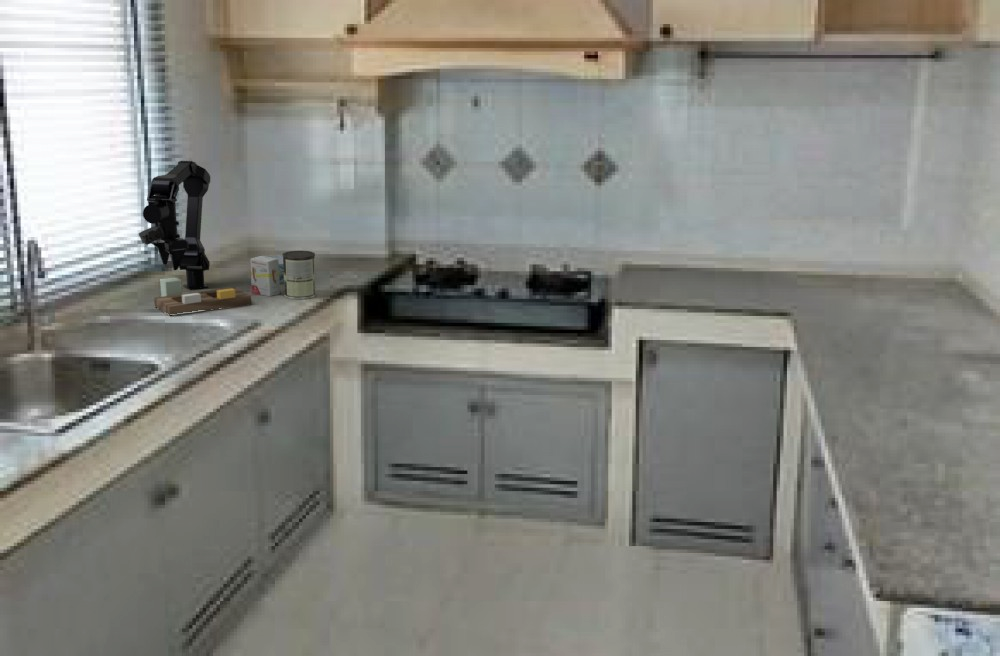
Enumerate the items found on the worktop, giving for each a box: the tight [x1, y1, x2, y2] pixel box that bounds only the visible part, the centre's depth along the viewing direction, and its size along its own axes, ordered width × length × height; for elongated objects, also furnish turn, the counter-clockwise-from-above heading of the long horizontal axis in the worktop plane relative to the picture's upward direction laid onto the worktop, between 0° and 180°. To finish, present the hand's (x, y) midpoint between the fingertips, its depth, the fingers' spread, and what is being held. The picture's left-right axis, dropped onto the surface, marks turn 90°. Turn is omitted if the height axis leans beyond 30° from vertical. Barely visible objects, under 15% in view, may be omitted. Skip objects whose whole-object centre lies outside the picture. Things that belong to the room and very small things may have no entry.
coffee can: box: [282, 250, 317, 300], centre depth 321 cm, size 10×10×14 cm
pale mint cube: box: [159, 277, 183, 297], centre depth 312 cm, size 5×5×7 cm
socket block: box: [153, 286, 253, 315], centre depth 307 cm, size 13×26×5 cm, turn 128°
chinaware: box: [265, 254, 284, 284], centre depth 341 cm, size 15×15×8 cm
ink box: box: [249, 255, 281, 297], centre depth 324 cm, size 9×5×12 cm, turn 57°
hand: (170, 267), depth 310 cm, fingers open, 9 cm apart
